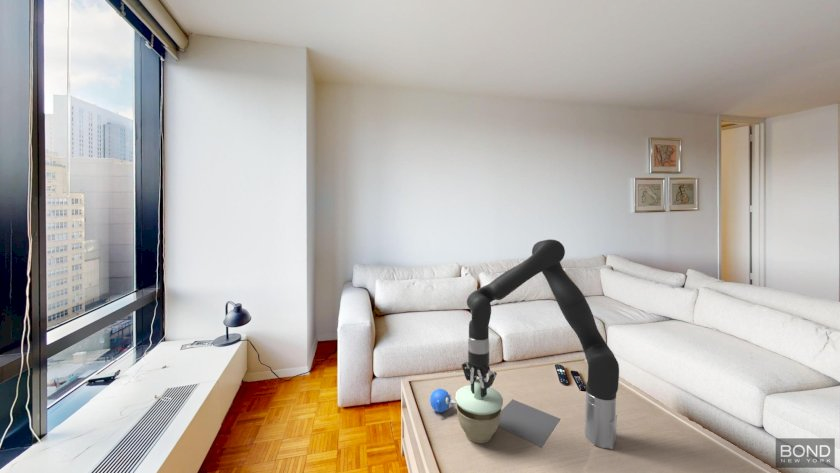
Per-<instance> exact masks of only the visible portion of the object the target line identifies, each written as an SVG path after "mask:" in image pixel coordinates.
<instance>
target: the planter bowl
mask: <svg viewBox="0 0 840 473" xmlns="http://www.w3.org/2000/svg"><path fill="white" fill-rule="evenodd" d="M455 406H456V413H457V420H458V422H459V425H460V427H461V429H462V430H463V432H464V434H465V437H466V438H467V439H468V440H469V441H471V442H472V443H473V442H474V443H476V444H484V443H487V442H489V441H490V440H491V439H492V437H493V435H494V434H495V433H496V431H497V430H498V428H499V427H498V426H499V422H500V415H501V410H502V408H501V409H500V410H499V411H497V412H495V413H492V414H488V415H478V414H473V413H469V412H467V411H465V410H463V409H462V408H460V407H459V406H458V405H457V404H456V405H455Z"/></svg>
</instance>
